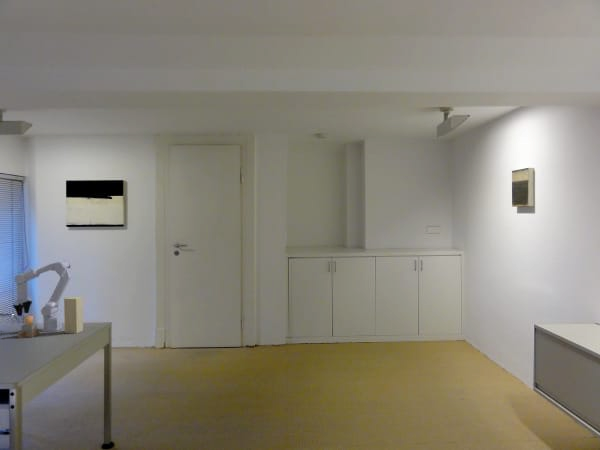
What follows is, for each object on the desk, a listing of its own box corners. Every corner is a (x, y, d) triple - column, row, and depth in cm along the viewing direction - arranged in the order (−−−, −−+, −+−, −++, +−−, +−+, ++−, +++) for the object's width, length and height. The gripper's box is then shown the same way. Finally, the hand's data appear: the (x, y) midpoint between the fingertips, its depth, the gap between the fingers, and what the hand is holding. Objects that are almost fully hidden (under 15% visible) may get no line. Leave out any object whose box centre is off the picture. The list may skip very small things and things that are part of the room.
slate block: (37, 329, 263) (37, 323, 262) (32, 331, 257) (31, 325, 257) (27, 329, 262) (26, 323, 262) (21, 332, 256) (21, 326, 256)
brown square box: (39, 334, 263) (39, 328, 263) (32, 338, 255) (32, 332, 255) (25, 335, 263) (25, 329, 263) (18, 338, 255) (18, 332, 255)
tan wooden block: (84, 330, 270) (83, 296, 269) (77, 333, 262) (75, 298, 262) (72, 330, 270) (71, 296, 270) (64, 333, 263) (63, 298, 263)
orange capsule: (34, 323, 261) (34, 315, 261) (30, 325, 257) (30, 317, 257) (27, 324, 261) (27, 316, 261) (23, 326, 256) (22, 317, 256)
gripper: (22, 291, 278) (22, 312, 278) (8, 295, 263) (9, 317, 264) (33, 290, 279) (34, 311, 279) (21, 294, 264) (21, 316, 264)
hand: (23, 314), depth 271 cm, fingers open, 7 cm apart
